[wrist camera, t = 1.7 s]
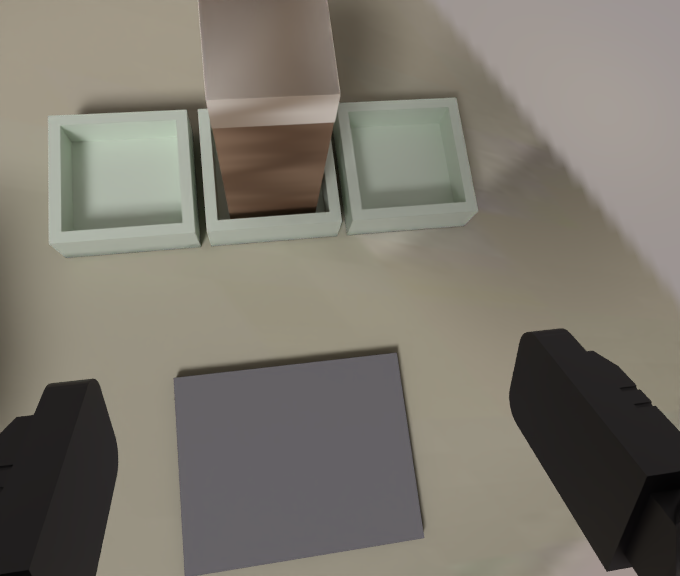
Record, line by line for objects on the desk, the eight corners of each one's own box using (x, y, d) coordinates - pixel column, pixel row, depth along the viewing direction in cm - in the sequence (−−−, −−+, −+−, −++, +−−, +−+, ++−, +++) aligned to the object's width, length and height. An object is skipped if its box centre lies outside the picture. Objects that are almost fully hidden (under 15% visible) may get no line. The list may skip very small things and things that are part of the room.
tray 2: (211, 246, 26) (206, 231, 24) (202, 131, 27) (197, 109, 26) (336, 236, 27) (341, 221, 25) (322, 125, 28) (326, 103, 26)
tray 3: (347, 235, 27) (352, 220, 25) (332, 124, 28) (336, 102, 26) (463, 225, 28) (478, 211, 26) (444, 119, 29) (456, 97, 27)
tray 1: (65, 257, 25) (48, 243, 23) (64, 138, 26) (48, 115, 25) (200, 247, 26) (195, 232, 24) (192, 132, 27) (186, 109, 25)
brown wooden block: (230, 221, 26) (205, 100, 16) (223, 143, 27) (196, -15, 17) (315, 214, 27) (340, 94, 17) (306, 138, 27) (325, -17, 18)
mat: (186, 575, 23) (184, 577, 22) (175, 378, 24) (173, 377, 24) (421, 536, 24) (424, 537, 24) (394, 353, 26) (396, 352, 25)
